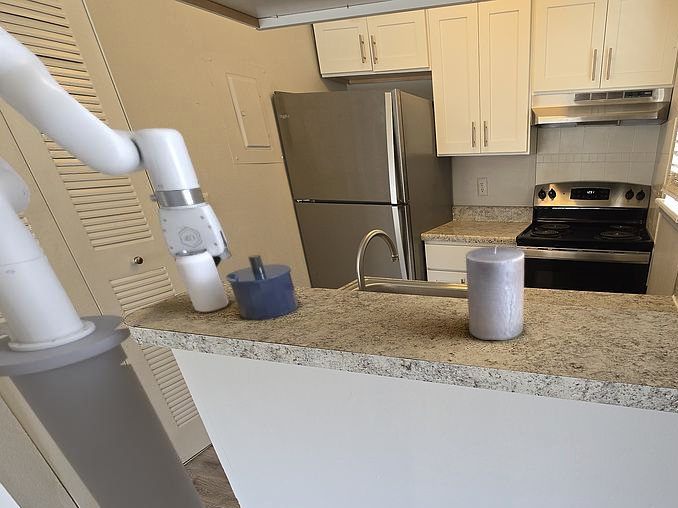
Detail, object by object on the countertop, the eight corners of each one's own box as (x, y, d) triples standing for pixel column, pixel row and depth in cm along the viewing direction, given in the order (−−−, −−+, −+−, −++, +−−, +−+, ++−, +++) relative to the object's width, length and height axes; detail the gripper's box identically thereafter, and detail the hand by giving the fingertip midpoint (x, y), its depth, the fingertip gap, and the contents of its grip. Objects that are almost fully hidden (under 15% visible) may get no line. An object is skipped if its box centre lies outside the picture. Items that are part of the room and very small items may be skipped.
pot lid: (219, 289, 76) (211, 266, 74) (237, 272, 86) (230, 251, 84) (285, 283, 78) (279, 260, 76) (296, 267, 88) (290, 246, 86)
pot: (234, 322, 80) (221, 285, 76) (249, 303, 89) (238, 270, 85) (293, 316, 82) (283, 280, 78) (301, 297, 91) (293, 265, 87)
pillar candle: (499, 314, 78) (499, 236, 71) (534, 331, 71) (537, 245, 64) (458, 328, 74) (453, 245, 66) (491, 347, 67) (489, 256, 59)
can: (232, 299, 91) (213, 246, 85) (225, 310, 86) (204, 254, 80) (200, 303, 89) (178, 249, 83) (191, 314, 84) (167, 257, 78)
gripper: (130, 204, 76) (170, 296, 85) (216, 198, 79) (246, 288, 88) (148, 199, 83) (184, 285, 92) (228, 194, 86) (254, 278, 94)
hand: (214, 286), depth 90 cm, fingers closed
